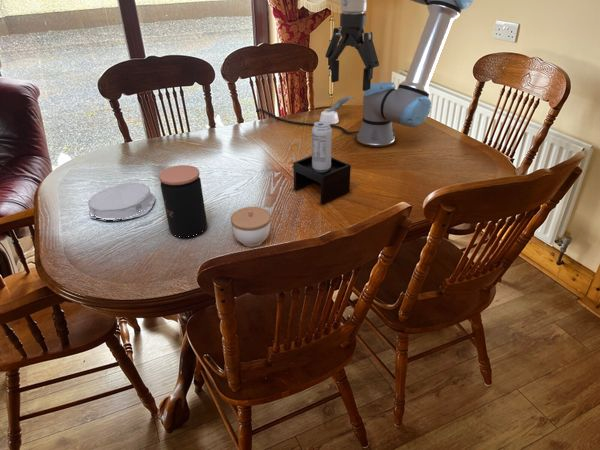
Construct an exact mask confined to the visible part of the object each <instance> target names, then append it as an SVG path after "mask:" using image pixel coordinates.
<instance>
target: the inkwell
mask: <svg viewBox="0 0 600 450" xmlns="http://www.w3.org/2000/svg"><path fill="white" fill-rule="evenodd" d="M351 100H355V98H354V97H353V96H351V95H350V96H349V95H348V96H343V97H342V98H340V99H338V100H337V101H336V102H334V103H333V104H332V106H331V107H330V108H325V109H324V110H323V111H321V113H320V116H319V119H318V121H326V122H329V123H330V125H337V124H338V123H339V122H340V118H339V115H338V112H337V111H338V110H340V109H341V107H343V105H344V104H347V102H349V101H351Z"/></svg>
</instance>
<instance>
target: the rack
mask: <svg viewBox="0 0 600 450" xmlns="http://www.w3.org/2000/svg"><path fill="white" fill-rule="evenodd" d="M292 166H293V167H292V168H293V169H292V171H293V190H294V191H295V192H296V191H299V190H302V189H304V188H307V187H309V186H311V185H315V186H317V187H319V188H320V204H321V205H323V206H324V205H326V204H328V203H331V202H333V201H334V200H337V199H338V198H341V197H343V196H345V195H348V194H349V193H350V191H351V189H350V188H351V170H352V169H351V167H352V166H351V164H349V163H347V162H344V161H342V160H340V159H338V158H335V157H332V156H331V167H330V168H329V170H328V171H326V172H317V171H315V170H314V168H313V167H312V155H309V156H307V157H304V158H302V159H299V160H296V161H294V162H293V163H292Z"/></svg>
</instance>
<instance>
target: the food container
mask: <svg viewBox="0 0 600 450" xmlns="http://www.w3.org/2000/svg"><path fill="white" fill-rule="evenodd" d="M155 201H156V197H155V196H154V194H153V193H152V192H151V189H150V186H148V185H147V184H144V183H142V182H141V183H140V182H124V183H119V184H116V185H114V186H110V187H107V188H105V189H102V190H101V191H98V192H96V193H95V194H93V195H92V196H91V197H90V198H89V199H88V205H87V207H88V209H89V210H88V217H89V218H91V219H96V216H98V217H101V218H115V219H117V218H118V219H119V218H120V219H122V218H124V219H122V220H121V221H124V220H130V219H134V218H138V217H142V216H144V215H146V214H147V213H148V212H149V211H151V209H152V208H153V207H154V206H153V205H154V203H155ZM141 210H142V211H141ZM144 210H145V211H144ZM139 211H140V212H139ZM90 213H91V214H92V215H94V216H91V214H90ZM136 214H138V215H136ZM95 215H96V216H95ZM133 215H135V216H133ZM130 216H132V217H130ZM126 217H129V218H126ZM96 220H97V219H96ZM99 220H101V221H105V220H104V219H99Z"/></svg>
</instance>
